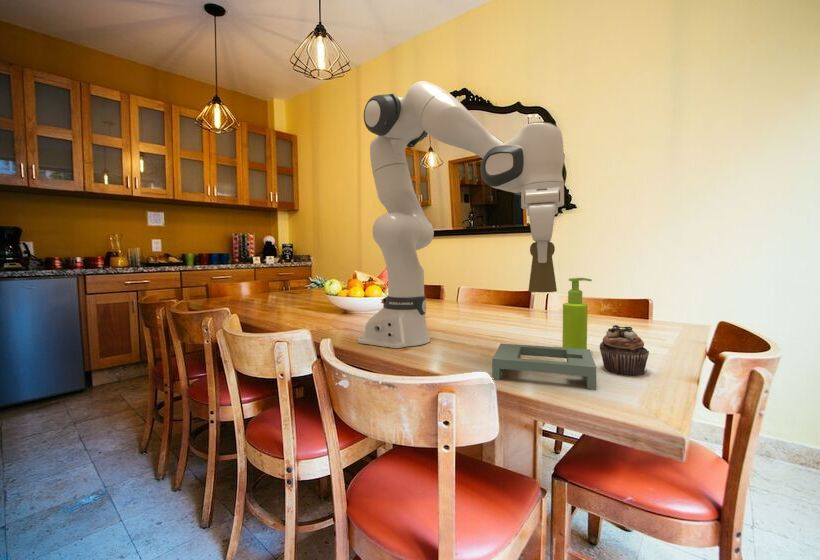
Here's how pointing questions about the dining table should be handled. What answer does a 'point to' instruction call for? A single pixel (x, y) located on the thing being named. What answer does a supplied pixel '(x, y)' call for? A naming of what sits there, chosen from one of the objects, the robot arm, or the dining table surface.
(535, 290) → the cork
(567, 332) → the soap dispenser
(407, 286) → the robot arm
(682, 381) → the dining table surface
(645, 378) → the dining table surface
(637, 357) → the cupcake
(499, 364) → the grey-green slotted stand
